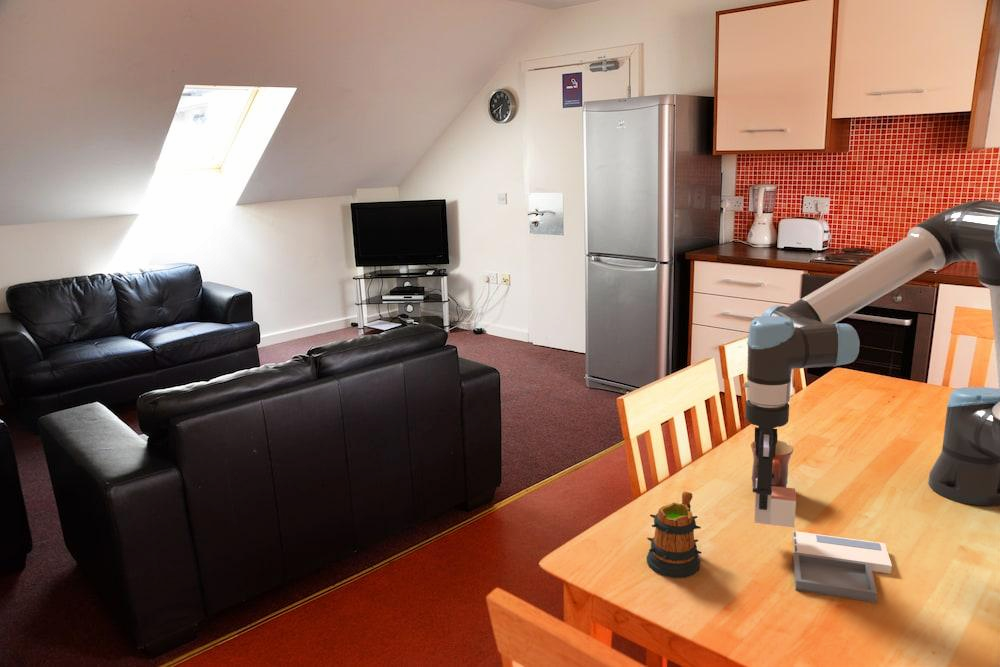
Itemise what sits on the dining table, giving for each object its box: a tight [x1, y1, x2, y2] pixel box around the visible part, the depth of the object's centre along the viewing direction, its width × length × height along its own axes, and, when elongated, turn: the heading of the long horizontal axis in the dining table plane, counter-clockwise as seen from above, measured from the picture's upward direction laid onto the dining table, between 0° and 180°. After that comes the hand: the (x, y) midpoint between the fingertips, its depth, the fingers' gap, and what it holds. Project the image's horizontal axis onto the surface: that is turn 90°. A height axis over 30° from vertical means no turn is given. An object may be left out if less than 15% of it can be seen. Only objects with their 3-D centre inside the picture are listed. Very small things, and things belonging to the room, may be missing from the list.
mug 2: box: [750, 439, 794, 489], centre depth 162 cm, size 12×9×10 cm
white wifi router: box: [792, 530, 893, 575], centre depth 139 cm, size 16×8×2 cm, turn 71°
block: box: [759, 486, 797, 528], centre depth 141 cm, size 6×4×6 cm, turn 72°
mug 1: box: [646, 491, 702, 579], centre depth 137 cm, size 13×10×12 cm
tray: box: [792, 551, 878, 603], centre depth 131 cm, size 13×10×2 cm
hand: (762, 516), depth 142 cm, fingers closed on block, 4 cm apart
